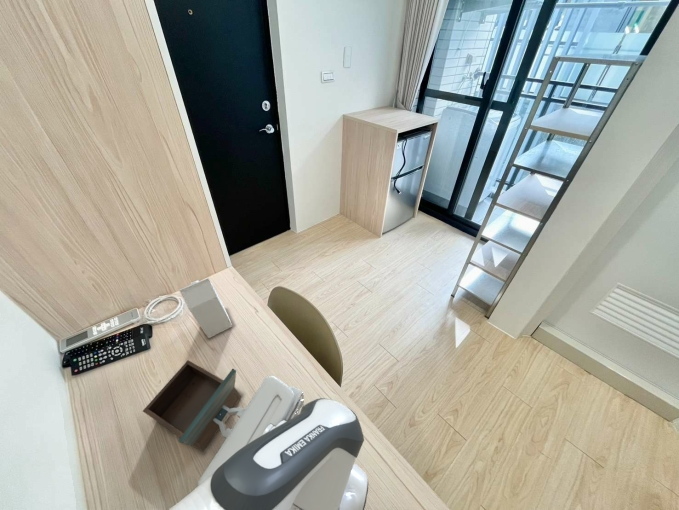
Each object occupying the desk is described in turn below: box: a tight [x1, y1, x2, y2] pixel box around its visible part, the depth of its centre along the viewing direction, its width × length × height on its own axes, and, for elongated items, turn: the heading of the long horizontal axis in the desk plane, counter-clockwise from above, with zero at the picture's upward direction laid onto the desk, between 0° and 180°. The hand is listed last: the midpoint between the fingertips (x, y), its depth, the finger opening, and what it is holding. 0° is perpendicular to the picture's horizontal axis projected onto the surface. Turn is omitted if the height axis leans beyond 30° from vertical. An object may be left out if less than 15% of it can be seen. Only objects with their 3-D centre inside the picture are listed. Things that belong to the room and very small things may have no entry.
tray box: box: [142, 359, 242, 453], centre depth 63 cm, size 15×13×7 cm
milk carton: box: [178, 277, 233, 339], centre depth 75 cm, size 7×7×19 cm
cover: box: [178, 368, 237, 447], centre depth 52 cm, size 15×13×1 cm
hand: (219, 413), depth 52 cm, fingers closed
